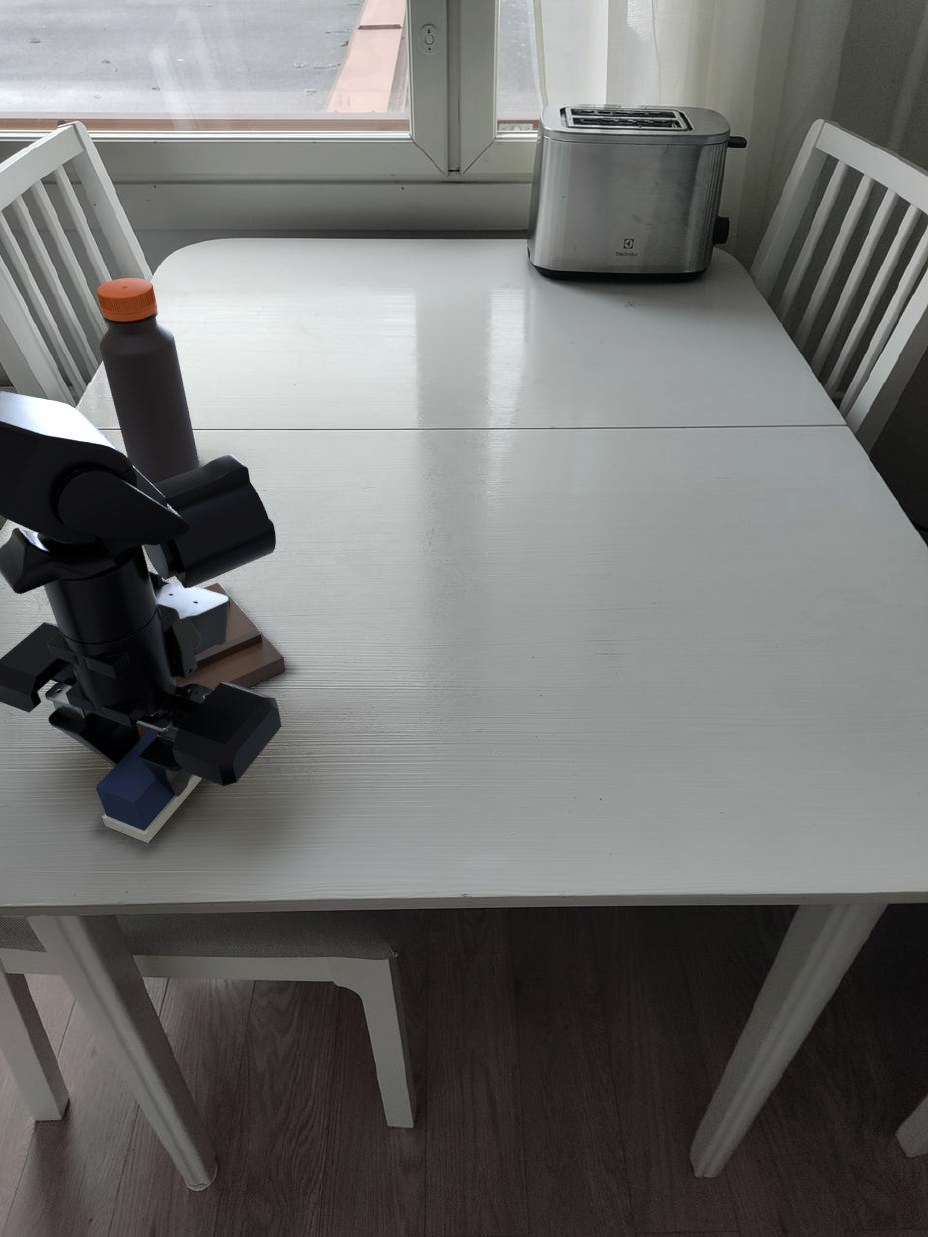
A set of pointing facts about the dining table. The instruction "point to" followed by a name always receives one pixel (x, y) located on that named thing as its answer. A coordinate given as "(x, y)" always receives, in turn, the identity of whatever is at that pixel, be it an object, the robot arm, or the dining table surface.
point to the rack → (234, 655)
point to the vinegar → (146, 382)
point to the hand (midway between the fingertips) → (160, 783)
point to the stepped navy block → (138, 795)
